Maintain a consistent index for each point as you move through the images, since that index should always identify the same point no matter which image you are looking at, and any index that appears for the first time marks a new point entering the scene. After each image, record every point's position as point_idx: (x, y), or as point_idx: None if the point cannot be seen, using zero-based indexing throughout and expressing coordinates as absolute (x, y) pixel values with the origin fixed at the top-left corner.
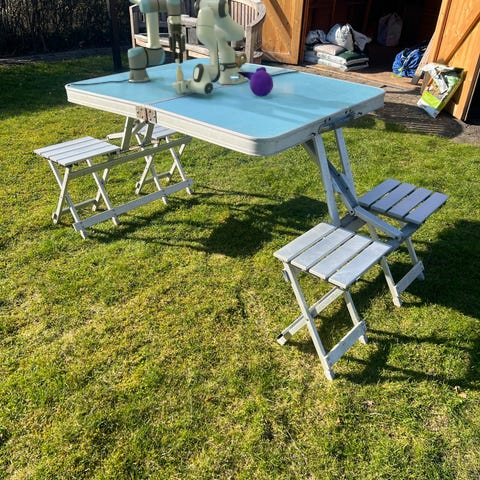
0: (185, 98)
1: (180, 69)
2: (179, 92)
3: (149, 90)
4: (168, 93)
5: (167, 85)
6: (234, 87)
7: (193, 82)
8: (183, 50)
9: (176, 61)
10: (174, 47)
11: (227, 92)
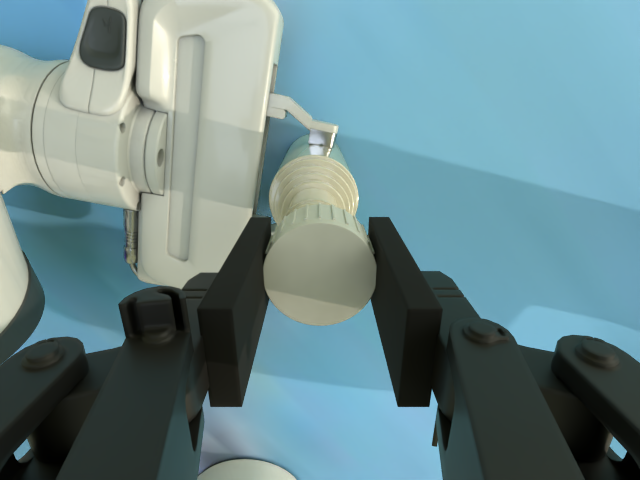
0: None
1: (286, 209)
2: (306, 135)
3: (609, 109)
4: (395, 99)
5: (556, 303)
6: None
7: (17, 73)
8: (3, 385)
9: (320, 211)
10: (461, 467)
11: (57, 322)
